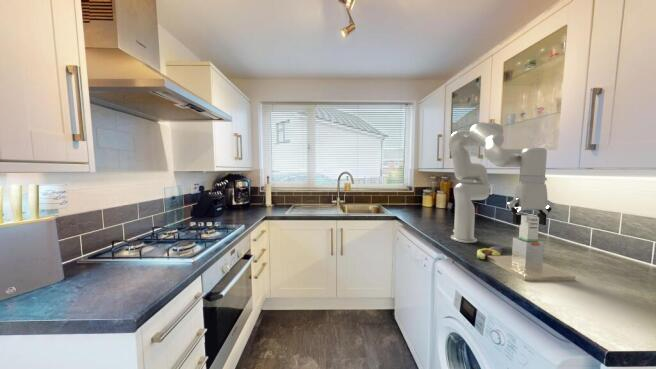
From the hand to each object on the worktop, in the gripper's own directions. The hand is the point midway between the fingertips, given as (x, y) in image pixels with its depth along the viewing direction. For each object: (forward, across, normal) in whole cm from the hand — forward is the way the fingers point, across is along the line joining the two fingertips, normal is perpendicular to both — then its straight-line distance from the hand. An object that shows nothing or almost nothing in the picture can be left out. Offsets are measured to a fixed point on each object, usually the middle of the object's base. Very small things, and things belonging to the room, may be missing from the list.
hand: (529, 224), depth 93 cm
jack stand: (+18, 0, 0) cm, 18 cm away
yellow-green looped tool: (+18, +2, -16) cm, 24 cm away
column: (+12, 0, 0) cm, 12 cm away
